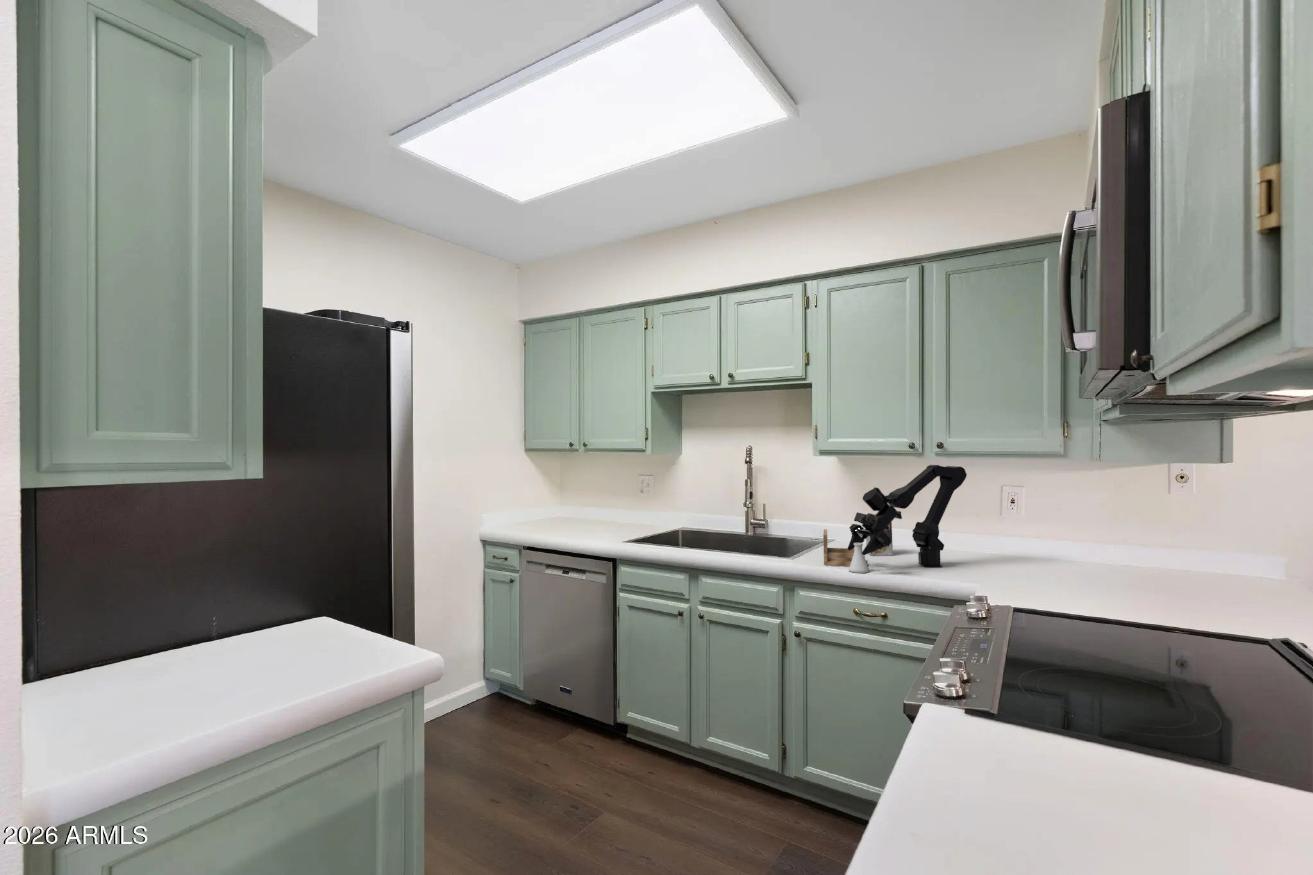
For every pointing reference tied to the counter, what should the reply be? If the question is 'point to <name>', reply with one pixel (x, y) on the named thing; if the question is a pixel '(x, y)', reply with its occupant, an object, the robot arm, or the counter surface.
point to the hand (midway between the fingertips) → (855, 552)
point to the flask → (858, 560)
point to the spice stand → (836, 554)
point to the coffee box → (885, 550)
